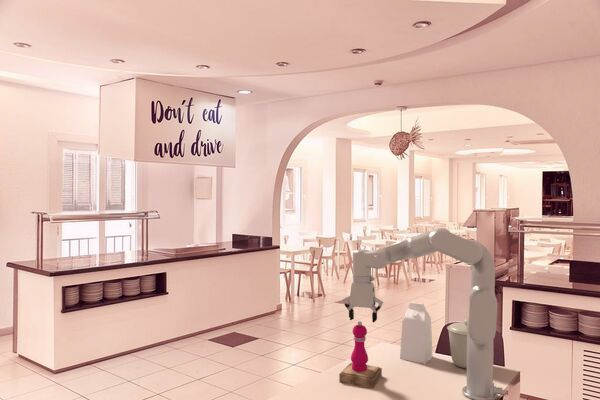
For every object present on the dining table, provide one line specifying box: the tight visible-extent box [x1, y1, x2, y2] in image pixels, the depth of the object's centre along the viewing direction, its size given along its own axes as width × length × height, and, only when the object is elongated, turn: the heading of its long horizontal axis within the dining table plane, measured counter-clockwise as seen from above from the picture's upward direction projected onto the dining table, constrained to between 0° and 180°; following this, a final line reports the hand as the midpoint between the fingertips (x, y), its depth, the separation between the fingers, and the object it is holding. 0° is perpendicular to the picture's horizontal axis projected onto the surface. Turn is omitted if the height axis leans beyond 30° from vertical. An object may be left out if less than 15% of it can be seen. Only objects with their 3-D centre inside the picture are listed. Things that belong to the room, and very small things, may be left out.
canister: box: [446, 318, 468, 370], centre depth 212 cm, size 18×18×21 cm
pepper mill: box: [350, 320, 369, 372], centre depth 195 cm, size 7×7×20 cm
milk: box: [399, 301, 433, 365], centre depth 222 cm, size 12×12×26 cm
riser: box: [338, 362, 383, 389], centre depth 195 cm, size 14×14×4 cm
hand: (362, 320), depth 194 cm, fingers open, 9 cm apart
